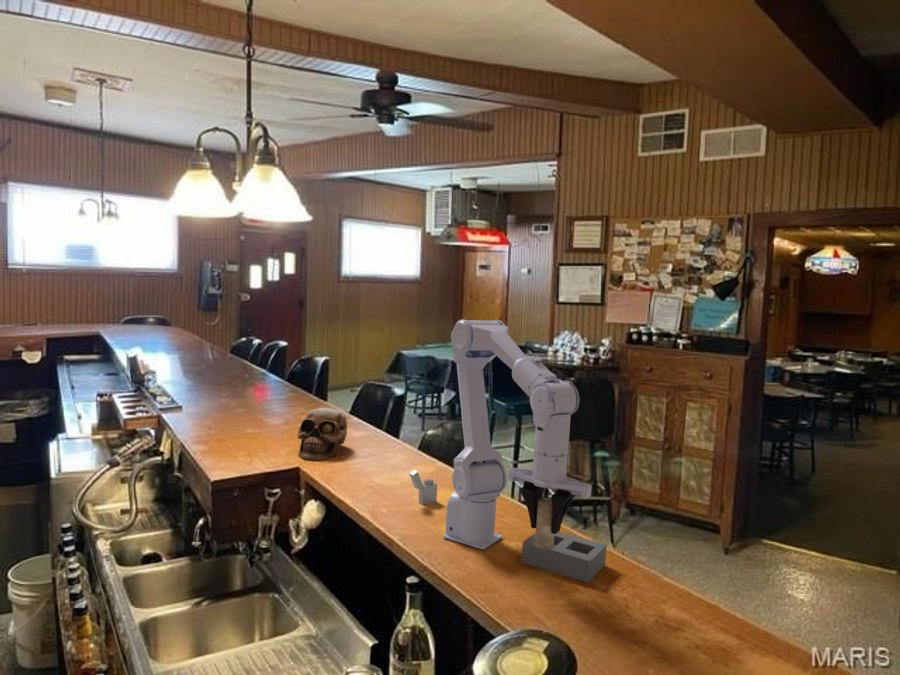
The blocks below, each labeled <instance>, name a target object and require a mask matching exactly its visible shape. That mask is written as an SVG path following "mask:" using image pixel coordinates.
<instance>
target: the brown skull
mask: <svg viewBox="0 0 900 675" xmlns="http://www.w3.org/2000/svg"><path fill="white" fill-rule="evenodd" d="M347 433H348V422H347V418H346V416H345V415H344V413H343V412H342V411H340V410H338V409H334V408H330V407H328V408H327V407H321V408H320V407H319V408H315V409H312V410H310V411H308V413H307V415H306V417H305V418H304V420H302V422H301V425H300V426H299V429H298V431H297V436H296V437H297V439H298V440H300V441H301V443H300V446H299V449H298V457H299V458H301V459H302V460H304V461H305V460H306V461H323V460H326V459H329V458H332V457H334V456H335V457H336V456H338V455H339V453H340V451H341V450H340V449H341V445H343V444H344V443H345V441H346V439H347Z"/></svg>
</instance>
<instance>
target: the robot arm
mask: <svg viewBox="0 0 900 675" xmlns="http://www.w3.org/2000/svg"><path fill="white" fill-rule="evenodd" d="M450 338H451V339H450V341H451V349H452V357H453V358H452V359H453V363H455V364H456V371H457V372H456V373H457V381H458V393H459V401H460V410H461V411H460V413H461V423H462V424H461V425H462V432H463V441H464V442H463V443H464V444H463V446H464V448H463V449H462V450H461V452H460V453H459V454H457V456H455V457H454V459H453V471H452V472H453V473H452V481H451V482H452V486H453V489H454V490H455V491H453V492H452V493H451V495H450V496H449V498H448V501H447V506H446V519H445V520H446V522H445V533H444V534H443V536H442V537H443V538H444V539H447V540H450V541H453V542H456V543H459V544H463V545H466V546H470V547H472V548H473V547H474V548H475V549H480V550H486V549H487V548H489V547H490V546H491V545H493V544H494V543H496V542H498V541H499V540H500V539H502V538H503V535H502V534H500V533H496V532H495V531H496V530H495V529H496V515H497V514H496V511H497V498H500V497H501V492H503V491H504V490H505V489H506V486H507V483H508V481H510V482H519V483H522V484H523V486H522V487H520V494H521V496H522V498H523V500H524V502H525V505H526V508H527V511H528V512H527V513H528V515H529V521H530V527H531V529H535V530H536V520H537V506H538V499H539V498H544V497H543V496H544V491H545V489H547V490H551V491H552V490H553V491H556V492H555V493H553V494H551V496H550V498H551V500H552V525H551V533H552V534H556V533H558V532H561V527H562V523H563V520H564V517H565V515H566V512H567V511H568V508H569V507H570V505H571V503H572V501H573V500H574V498H575V496H578V497H580V498H582V499H584V500H587V499H589V498H590V497H591V495H592V485H591V484H588V483H586V482H581V481H579V480H577V479H574V478H571V477H570V476H569V477H568V476H567V469H568V468H567V466H568V457H569V456H568V455H569V454H568V453H569V444H570V442H569V440H570V431H571V429H570V428H571V416H572V415H573V414H575V413H576V412H577V411H578V409H579V407H580V406H579V405H580V395H579V391H578V389H577V387H576V386H575V385H574V383H573V382H572V381H570V380H562V379H559V378H558V377H557V375H556V374H555V373H553V372H552V371H551V370H549V369H548V368H547V367H546V366H545V365H544V364H543V363H542V359H541V358H540V357H539V356H532V355H530V356H528V355H527V356H526V354H525V353H524V352H523V351H522V349H521V348H520V347H519V346H518V344H517V343H516V342H515V341H514V339H513V338H512V337H511V336H510V328H509V327H508V326H507V325H506V324H505V323H504V322H503V321H502V320H500V319H494V320H473V319H471V320H469V319H468V320H467V319H459V320H457V322H456V323H455V325H454V327H453V330H452V331H451V333H450ZM495 357H497V358H498V359H499V360H501V361H502V362H503V363H504V364H506V366H507V367H509V369H511V370H512V371H511V377H512V380H513V382H515V383H516V385H517V386H518V387H519V388H521V390H522V391H523V392H524V393H525V394H526V395H527V396H528V397H529V404H530V409H531V410H532V415H533V416H532V421H533V424H534V426H535V430H534V442H533V443H534V444H533V448H534V449H533V462H532V469H523V468H518V467H511V468H510V469H508V473H507V470H506V467H505V466H504V465H505V464H504V462H503V456H502V454H501V453H500V452H498V451H497V449H495V448H494V447H492V445H491V435H490V426H489V415H488V407H487V398H486V387H485V377H484V376H485V375H484V368H485V367H486V365H487V363H489V362H491V361H492V360H494V359H495ZM481 461H485V462H481ZM475 462H479V463H475Z"/></svg>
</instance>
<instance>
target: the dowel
mask: <svg viewBox="0 0 900 675" xmlns="http://www.w3.org/2000/svg"><path fill="white" fill-rule="evenodd" d="M551 525H552V500H551V497H542V498H539V499H538V506H537V520H536V528H535V533H536V534H535V546H536V547H537V548H539V549H544V550H549V549H552V548H553V546H554V534H552V533H551Z"/></svg>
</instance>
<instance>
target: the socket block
mask: <svg viewBox="0 0 900 675" xmlns="http://www.w3.org/2000/svg"><path fill="white" fill-rule="evenodd" d="M535 534H536V532H535V533H532V535H530V536H529V537H528V538H526V539H525V540H524V541H522V549H521V550H522V551H521V562H520V563H521V564H524V565H528V566H531V567H534V568H537V567H538V568H537V569H541V570H544V571H546V572H550V573H553V574H557V575H560V576H563V577H567V578H570V579H574V580H576V579H577V581H581V582H583V581H584V582H583V583H587V584H589V583H590V582H591V581H592V580H593V579H594V578H595V577H596V576H597V574H599V572H600V571H602V570H603V569H604V567H605V566H606V560H607V559H606V558H607V547H608V546H607V544H605V543H603V542H602V543H601V542H598V541H594V540H591V539H586V538H583V537H579V536H577V535H573V534H568V533H564V532H561V531H559V532H558V533H556V534H554V546H553V548H552V549H549V550H544V549H539V548H537V547H536V546H535Z"/></svg>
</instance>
